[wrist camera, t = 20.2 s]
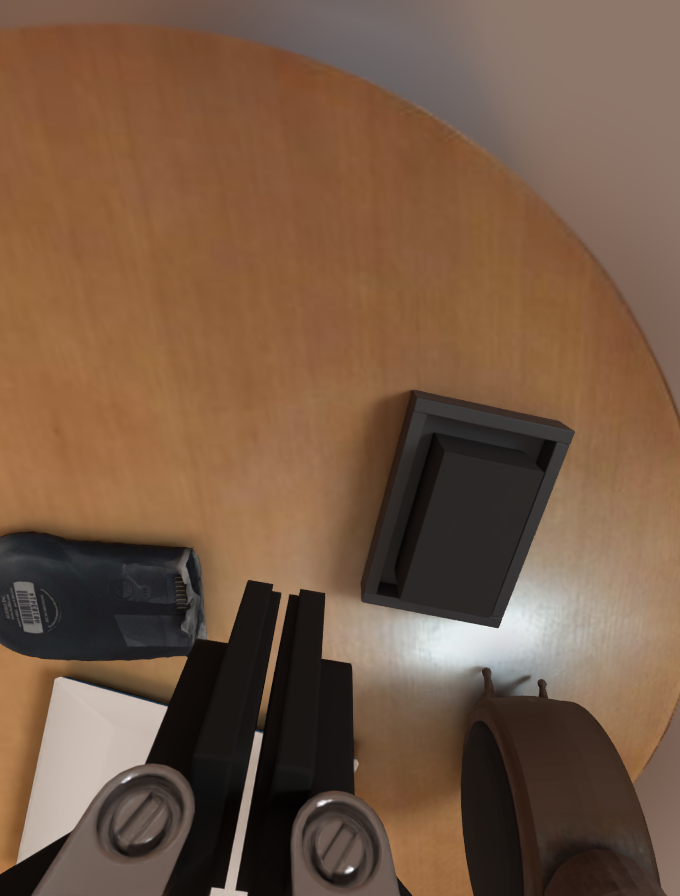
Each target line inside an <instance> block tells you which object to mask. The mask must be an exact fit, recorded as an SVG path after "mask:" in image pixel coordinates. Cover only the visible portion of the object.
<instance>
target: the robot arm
mask: <svg viewBox="0 0 680 896" xmlns="http://www.w3.org/2000/svg"><path fill="white" fill-rule="evenodd" d="M272 589H273V584H269V583H263V582H257V581H251V580H248V582H247V585H246V588H245V591H244V594H243V597H242V601H241V604H240V607H239V610H238V613H237V617H236V620H235V623H234V626H233V629H232V632H231V636H230V639H229V642H228V643H223V642H217V641H211V640H205V639H199V638H197V639H196V641H195V642H194V644H193V647H192V649H191V651H190V654H189V656H188V659H187V661H186V664H185V666H184V669H183V671H182V674H181V676H180V679H179V681H178V683H177V686H176V688H175V691H174V693H173V696H172V698H171V701H170V703H169V706H168V708H167V711H166V713H165V715H164V718H163V720H162V723H161V725H160V728H159V730H158V733H157V735H156V738H155V740H154V743H153V745H152V747H151V750H150V752H149V755H148V757H147V760H146V762H145V765H138V766H134V767H132V768H130V769H127V770H125V771H123V772H120V773H119V774H118V775H116V776H115V777H114V778H112V779H111V780H110V781H108V782H107V783H106V784H105V785H104V786H103V787H102V788H101V790H100V791H99V792H98V793H97V794H96V796H95V797H94V798H93V800H92V801H91V803H90V805H89V806H88V808H87V809H86V811H85V812H84V814H83V815H82V817H81V819H80V820H79V822H78V823H77V825H76V826H75V828H74V829H73V830H72V831H71V832H69V833H68V834H66V835H64V836H63V837H61V838H59V839H58V840H56V841H54V842H53V843H51V844H49V845H48V846H46V847H45V848H43V849H41V850H40V851H38V852H36V853H35V854H33V855H31V856H30V857H28V858H26V859H25V860H23V861H21V862H20V863H18V864H17V865H15V866H13V867H12V868H10V869H8V870H7V871H5V872H3V873H2V874H0V896H210V893H211V889H212V888H220V889H225V884H226V879H227V874H228V869H229V864H230V859H231V854H232V848H233V843H234V838H235V833H236V828H237V823H238V818H239V813H240V807H241V802H242V797H243V792H244V787H245V782H246V777H247V772H248V766H249V761H250V756H251V751H252V746H253V741H254V736H255V731H256V725H257V720H258V715H259V710H260V705H261V700H262V695H263V689H264V684H265V679H266V673H267V668H268V663H269V657H270V652H271V647H272V641H273V636H274V631H275V625H276V620H277V615H278V609H279V604H280V599H281V593H280V592H274V591H272ZM324 609H325V593H321V592H315V591H310V590H304V589H300V593H299V596H297V595H291V594H290V595H289V600H288V605H287V610H286V615H285V620H284V625H283V630H282V636H281V641H280V646H279V651H278V656H277V661H276V666H275V672H274V677H273V682H272V687H271V692H270V698H269V703H268V709H267V714H266V720H265V725H264V731H263V737H262V742H261V748H260V754H259V759H258V765H257V771H256V776H255V782H254V787H253V793H252V799H251V804H250V810H249V816H248V821H247V827H246V832H245V838H244V844H243V849H242V855H241V861H240V866H239V872H238V877H237V883H236V889H235V891H242V892H248V894H247V896H412V895H411V893H410V892H409V891H408V890H407V889H406V887H405V886H404V885H403V884H402V883H401V881H400V880H399V879H398V878H397V876H396V873H395V868H394V864H393V859H392V854H391V849H390V844H389V840H388V837H387V834H386V831H385V828H384V825H383V823H382V821H381V820H380V818H379V817H378V815H377V814H376V812H375V811H374V810H373V809H372V808H371V807H370V806H369V805H368V804H367V803H366V802H364V801H363V800H362V799H360V798H358V797H356V796H355V794H354V738H353V681H352V665H351V663H345V662H339V661H332V660H326V659H321V658H322V641H323V625H324Z"/></svg>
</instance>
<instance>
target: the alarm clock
mask: <svg viewBox="0 0 680 896" xmlns="http://www.w3.org/2000/svg"><path fill="white" fill-rule="evenodd" d="M482 675H483V676H484V699H482V700H480V701H479V702H478V703H477V704H476V706H475V708H474V710H473V712H472V715H471V718H470V719H469V722H468V725H467V728H466V733H465V738H464V745H463V757H462V776H461V811H462V826H463V836H464V844H465V853H466V860H467V865H468V870H469V876H470V881H471V886H472V890H473V894H474V896H667V895H666V894H665V893H664V891H663V890H662V888H661V885H660V878H659V873H658V868H657V864H656V858H655V854H654V850H653V846H652V842H651V838H650V835H649V831H648V828H647V824H646V821H645V817H644V815H643V812H642V809H641V806H640V802H639V800H638V797H637V795H636V792H635V789H634V787H633V784H632V782H631V779H630V777H629V775H628V772H627V770H626V768H625V766H624V764H623V762H622V760H621V757H620V756H619V754H618V752H617V750H616V748H615V746H614V745H613V743H612V741H611V740H610V738H609V736H608V735H607V733H606V732H605V730H604V729H603V728H602V726H601V725H600V724H599V722H598V721H597V720H596V719H595V718H594V717H593V716H592V715H591V714H590V713H589V712H588V711H587V710H586V709H585V708H583V707H582V706H580V705H579V704H576V703H574V702H569V701H559V700H553V699H548V696H547V692H546V689H545V688H546V685H547V684H546V682H545V681H544V680H543V679H540V680H538V686H539V687H540V689H539V697H536V696H513V697H501V698H497V697H496V693H495V690H494V687H493V684H492V680H491V677H490V676H491V670H490V669H489V668H484V669H483V670H482Z"/></svg>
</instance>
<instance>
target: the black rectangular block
mask: <svg viewBox="0 0 680 896" xmlns="http://www.w3.org/2000/svg"><path fill="white" fill-rule="evenodd" d="M543 475H544V472H543V471H542V470H541V469H540V468H539V467H538V466H537V465H536V464H535V463H534V462H533V461H532V460H531V459H530V458H529V457H528V456H527V455H526V454H525V453H524V452H523V451H520V450H516V449H511V448H506V447H501V446H497V445H492V444H487V443H483V442H478V441H473V440H469V439H464V438H459V437H454V436H450V435H445V434H440V433H436V432H434V433H433V436H432V439H431V443H430V446H429V450H428V453H427V456H426V460H425V463H424V467H423V470H422V474H421V477H420V481H419V484H418V487H417V491H416V494H415V498H414V501H413V505H412V508H411V512H410V515H409V519H408V522H407V525H406V529H405V532H404V536H403V539H402V543H401V546H400V550H399V553H398V556H397V560H396V563H395V567H394V569H395V576H396V582H397V588H398V594H399V600H400V601H403V602H409V603H414V604H419V605H424V606H429V607H434V608H440V609H445V610H450V611H455V612H460V613H466V614H471V615H476V616H481V617H486V618H490V615H491V613H492V610H493V607H494V605H495V602H496V599H497V597H498V594H499V592H500V589H501V586H502V584H503V581H504V578H505V576H506V573H507V570H508V568H509V565H510V562H511V560H512V557H513V554H514V552H515V549H516V547H517V544H518V541H519V539H520V536H521V533H522V531H523V528H524V525H525V523H526V520H527V517H528V515H529V512H530V509H531V507H532V504H533V501H534V499H535V496H536V494H537V491H538V488H539V486H540V483H541V480H542V478H543Z"/></svg>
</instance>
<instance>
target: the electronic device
mask: <svg viewBox="0 0 680 896" xmlns="http://www.w3.org/2000/svg"><path fill="white" fill-rule="evenodd" d="M197 638H199V639H205V640H207V632H206V621H205V614H204V601H203V591H202V576H201V567H200V562H199V558H198V556H197V555H196V554H195V552H194V550H193V548H186V547H165V546H151V545H134V544H123V543H102V542H90V541H75V540H66V539H64V538H62V537H58V536H54V535H51V534H47V533H36V532H19V533H14V534H9V535H6V536H3V537H0V644H2V645H3V646H5V647H7V648H9V649H10V650H12V651H15V652H17V653H20V654H22V655H26V656H31V657H38V658H41V659H55V660H80V661H113V660H127V661H129V660H139V659H154V658H160V657H167V658H168V657H172V656H186V657H188V656H189V654H190V651H191V649H192V647H193V644H194V642H195V641H196V639H197Z"/></svg>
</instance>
